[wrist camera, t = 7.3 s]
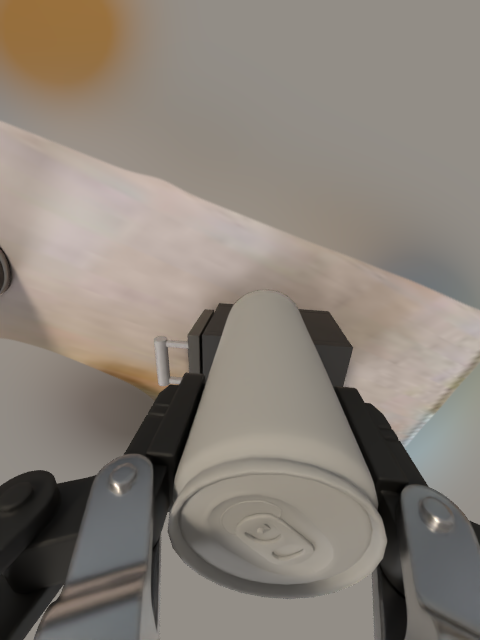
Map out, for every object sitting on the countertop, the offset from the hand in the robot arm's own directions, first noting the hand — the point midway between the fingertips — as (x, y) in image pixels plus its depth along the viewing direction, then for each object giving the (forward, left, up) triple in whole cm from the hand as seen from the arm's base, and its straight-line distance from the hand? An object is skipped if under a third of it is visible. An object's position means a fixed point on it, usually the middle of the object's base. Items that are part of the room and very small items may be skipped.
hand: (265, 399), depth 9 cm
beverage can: (0, 0, -8) cm, 8 cm away
